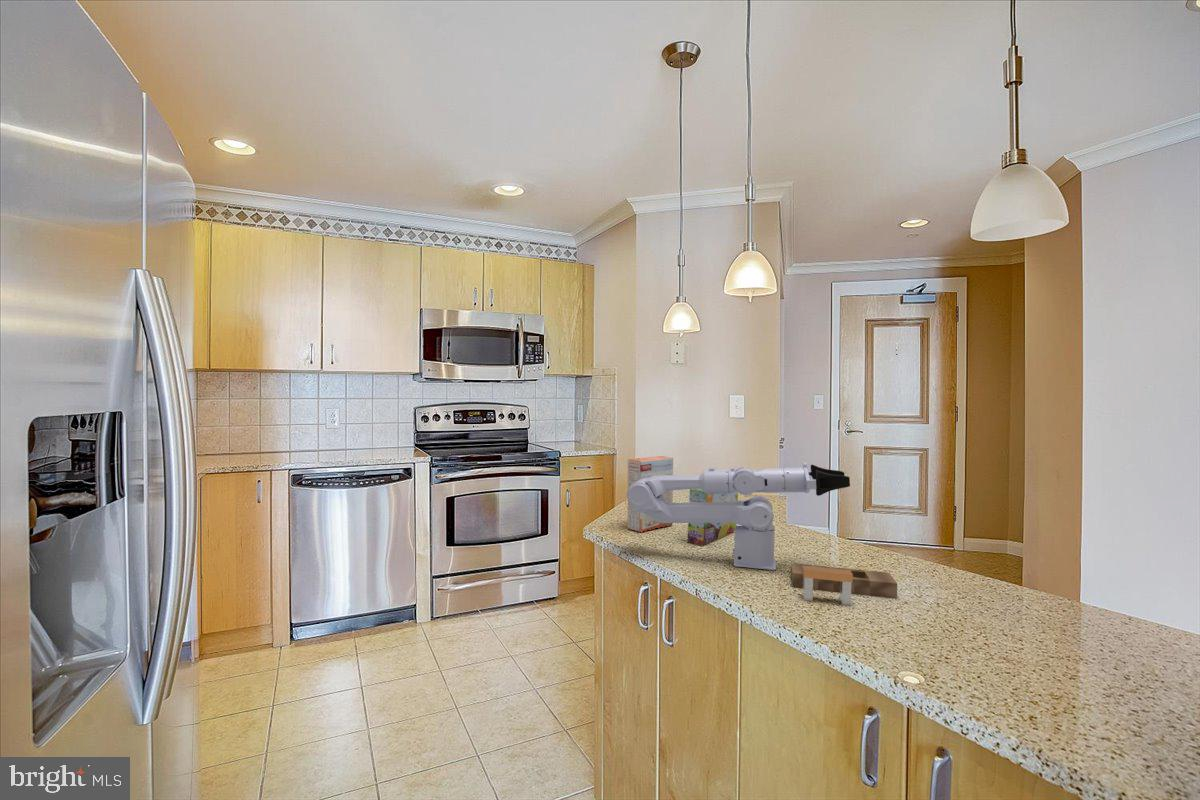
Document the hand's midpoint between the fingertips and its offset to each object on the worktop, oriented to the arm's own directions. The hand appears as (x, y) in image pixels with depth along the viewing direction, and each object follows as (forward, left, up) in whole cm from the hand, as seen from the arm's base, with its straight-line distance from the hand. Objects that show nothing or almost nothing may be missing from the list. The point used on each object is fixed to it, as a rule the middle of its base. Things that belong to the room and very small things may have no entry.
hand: (846, 478), depth 127 cm
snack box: (-31, +22, -22) cm, 44 cm away
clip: (-6, -19, -22) cm, 29 cm away
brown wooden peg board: (-2, -10, -22) cm, 24 cm away
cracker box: (-50, +26, -22) cm, 61 cm away
